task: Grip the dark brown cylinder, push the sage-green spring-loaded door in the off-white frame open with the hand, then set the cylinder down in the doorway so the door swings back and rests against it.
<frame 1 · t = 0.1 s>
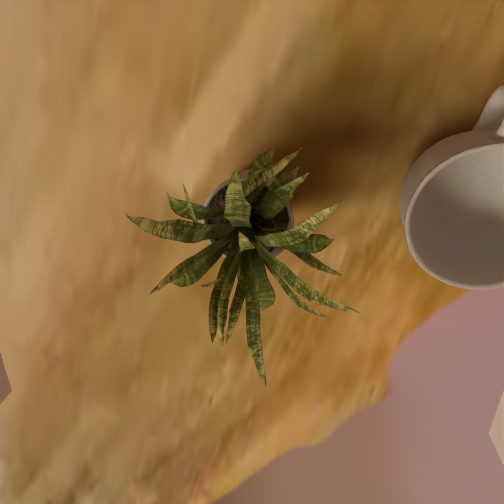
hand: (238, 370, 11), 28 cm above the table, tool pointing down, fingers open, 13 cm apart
teacup: (462, 168, 36), on the table
house plant: (266, 206, 39), on the table
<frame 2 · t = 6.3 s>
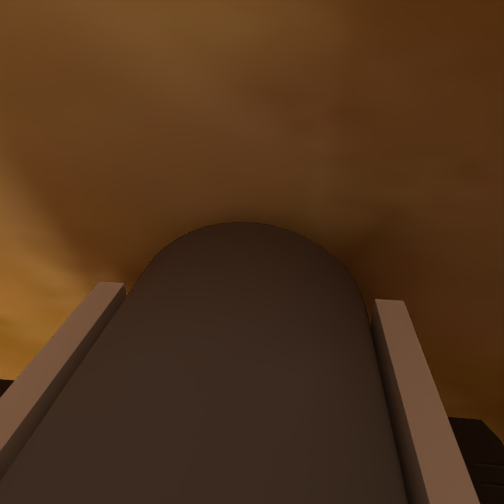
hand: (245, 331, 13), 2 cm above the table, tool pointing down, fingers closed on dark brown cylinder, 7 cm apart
dark brown cylinder: (247, 331, 13), point 1 cm above the table, touching gripper
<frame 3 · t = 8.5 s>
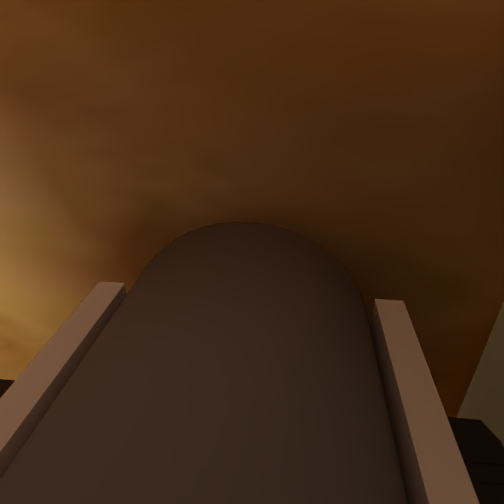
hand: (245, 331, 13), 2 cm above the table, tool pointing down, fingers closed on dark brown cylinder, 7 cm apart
dark brown cylinder: (247, 331, 13), point 2 cm above the table, touching gripper
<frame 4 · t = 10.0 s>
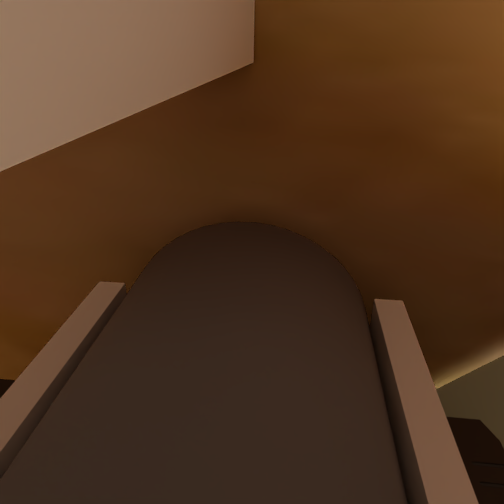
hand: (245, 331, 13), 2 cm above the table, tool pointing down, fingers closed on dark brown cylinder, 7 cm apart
dark brown cylinder: (246, 330, 13), point 1 cm above the table, touching gripper
door frame: (220, 344, 15), on the table
when the fingers open (0 cm above the table, at t = 13.4 s): dark brown cylinder stays where it is, on the table.
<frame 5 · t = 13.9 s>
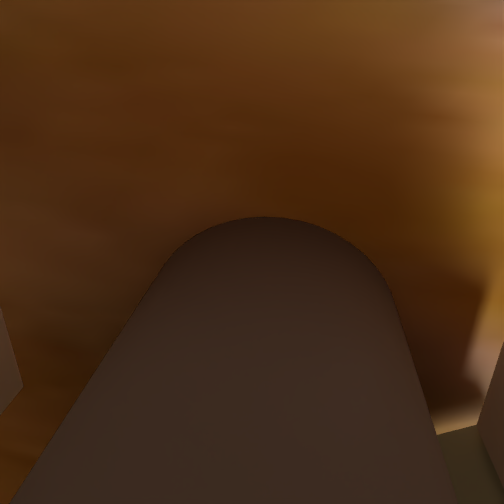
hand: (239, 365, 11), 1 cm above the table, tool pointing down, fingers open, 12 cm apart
dark brown cylinder: (269, 332, 12), on the table
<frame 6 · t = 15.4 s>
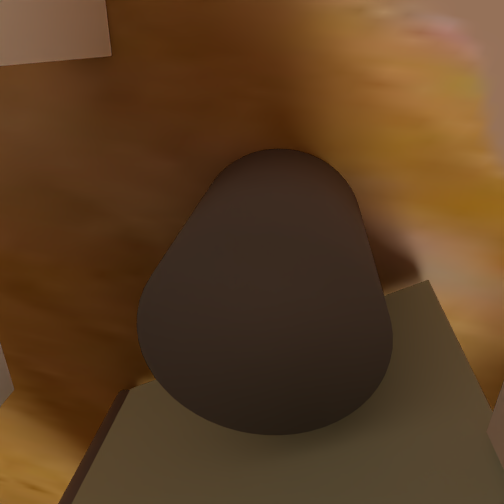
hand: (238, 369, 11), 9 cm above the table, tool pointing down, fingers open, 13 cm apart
dark brown cylinder: (279, 228, 19), on the table
door frame: (116, 262, 21), on the table
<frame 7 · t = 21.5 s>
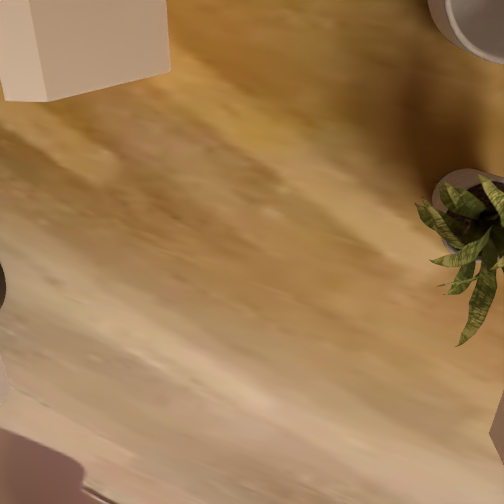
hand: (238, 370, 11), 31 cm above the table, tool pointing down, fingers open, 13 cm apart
house plant: (474, 185, 39), on the table
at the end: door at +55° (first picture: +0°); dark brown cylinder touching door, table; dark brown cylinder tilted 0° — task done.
